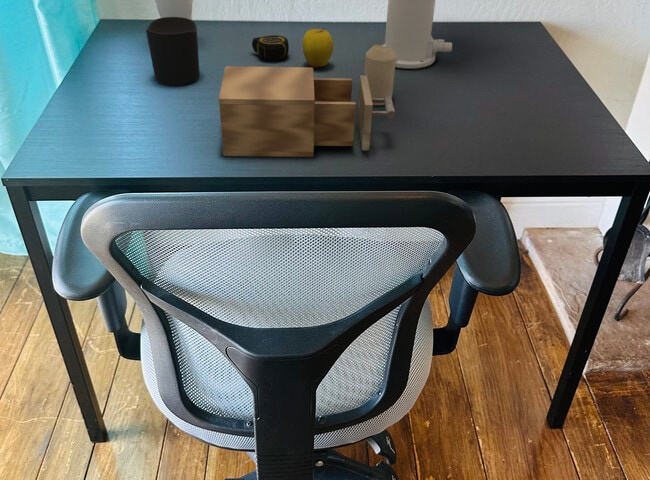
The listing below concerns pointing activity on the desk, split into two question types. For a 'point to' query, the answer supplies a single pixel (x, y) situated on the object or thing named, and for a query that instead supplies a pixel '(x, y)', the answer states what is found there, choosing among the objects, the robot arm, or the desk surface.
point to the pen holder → (174, 50)
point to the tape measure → (271, 46)
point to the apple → (317, 47)
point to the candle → (380, 71)
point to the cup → (175, 8)
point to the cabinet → (267, 111)
